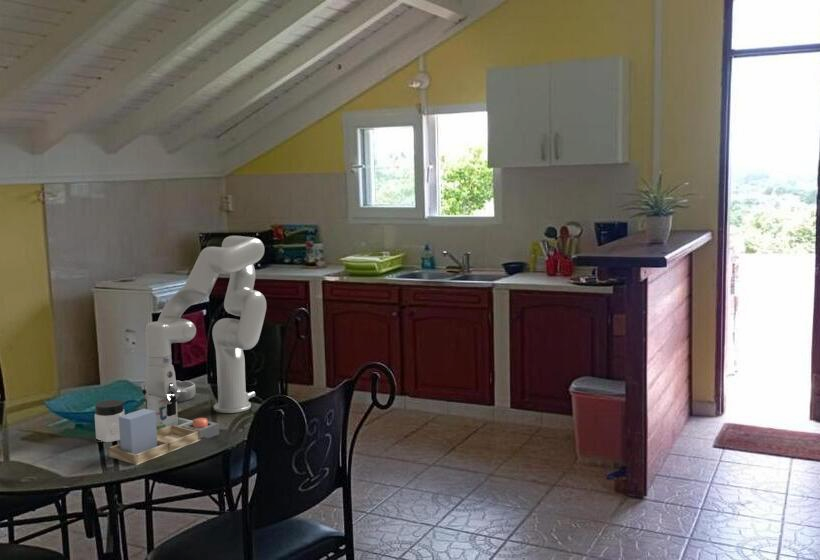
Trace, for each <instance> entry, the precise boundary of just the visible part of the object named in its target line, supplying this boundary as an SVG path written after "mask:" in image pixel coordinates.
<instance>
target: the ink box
mask: <svg viewBox="0 0 820 560" xmlns="http://www.w3.org/2000/svg"><path fill="white" fill-rule="evenodd" d="M169 398H170V400H171V397H169ZM167 404H168V402H167V400H166V399H165V398H164V397H159V396H155V395H149V396H148V397H147V409H148V410H152V411H155V412H156V429H157V430H160V429H162V428H165V427H168V426H171V425H175V426H178V425H179V424H178V417H179V416H178V402H176V414H175V415H172V416H167Z"/></svg>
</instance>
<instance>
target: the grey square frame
mask: <svg viewBox="0 0 820 560" xmlns="http://www.w3.org/2000/svg"><path fill="white" fill-rule="evenodd" d="M207 423H208V426H206V427H203V428H200V429H199V428H195V427H193V422H192V423H189V424H187V425H184V426H182V427H183V428H187V429H191V430H195V431H199V432H200V439H201V438H206V439H211V438H213V437H216V436H219V435H220V423H217V422H213V421H210V420H207Z"/></svg>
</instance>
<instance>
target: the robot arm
mask: <svg viewBox="0 0 820 560" xmlns="http://www.w3.org/2000/svg"><path fill="white" fill-rule="evenodd" d="M264 255H265V245H264V243H263V242H262V240H261V239H259V238H257V237H251V236H243V235H242V236H241V235H229V236H226V237H225V238H224V239H223V241H222V243H221V246H207V247H204V248H203V249H201V251H200V252H199V255H198V257H197V259H196V260H195V264H194V265H193V268H192V269H191V272H190V273H189V276H188V278H187V280H186V282H185V284H184V285H183V286H182V287H181V288H180V289H179V290H178V291H176V292H175V293H174V295H173V296H171V298H169V300H168V301H167V302H166V303H165V304H164V305H163V308H162V311H161V312H160V313H159V316H158V319H157V321H150V322H148V323H147V324H146V326H145V346H146V347H145V350H146V352H145V353H146V367H145V375H144V376H145V378H144V380H145V381H143V382H142V383H140V387H141V391H142V394H143V395H144V399H145V406H146V407H145V409H147V397H148V396H149V395H155V396H159V397H164V398H165V399H166V400H167V402H168V404H167V416H172V415H175V414H176V402H177V400H178V399H179V395H180V390H179V389H177V386H176V381H177V379H176V371H175V367H174V365H173V364H172V363H173V359H172V344H176V343H179V344H180V343H181V344H182V343H187V342H190V341H191V340H193V339H194V338H195V336H196V335H197V328H196V325H195V323H193V322H192V321H191V320H189V319H186V318H181V317H182V315H183V314H184V312H186V311H187V309H189V308H190V307H191V306H192V305H194V304H196V303H198V302H200V301H203V300H205V299H207V298H208V297H209V296H210V295H211V293H212V290H213V288H214V287H215V284H216V281H217V280H218V277H219V276H220V274H226V275H229V274H230V277H229V282H228V285H227V290H226V292H225V297H224V301H223V307H224V310H225V311H226V312H227V313H228V314H231V315H233V316H237V317H240V319H238V318H237V319H236V318H230V317H229V318H228V317H227V318H226V317H225V318H221V319H219V320H217V321H216V322H215V324H214V325H213V327H212V330H211V331H212V332H211V335H212V340H213V344H214V349H215V360H216V377H217V379H216V380H217V381H216V382H217V399H218V400H217V402H216V403H215V404H214V405H213V410H214V411H216V412H217V413H222V414H235V413H241V412H244V411H247V410H249V409H250V408H251V406H252V403H251V402H250V401H249V400H250V399H251V398H254V397H256V392H255V391H249V392H247V391H246V390H247V388H246V362H245V361H246V360H245V354H244V350H245V351H246V350H251V349H253V348H254V347H255V346H256V345H257V344H258V343H259V340H260V336H261V333H262V329H263V325H264V320H265V316H266V312H267V300H266V297H265V295H264V294H263V293H261V292H260V291H259V290H255V289H254V287H255V281H256V277H257V276H256V269H255V265H254V264H256V263H258V262H259V261H261V259H262V258H263V257H264ZM169 397H171V400H170V398H169ZM177 403H178V402H177Z"/></svg>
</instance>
